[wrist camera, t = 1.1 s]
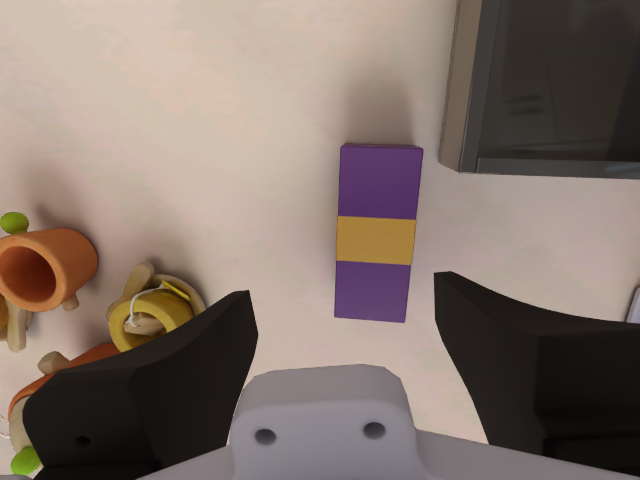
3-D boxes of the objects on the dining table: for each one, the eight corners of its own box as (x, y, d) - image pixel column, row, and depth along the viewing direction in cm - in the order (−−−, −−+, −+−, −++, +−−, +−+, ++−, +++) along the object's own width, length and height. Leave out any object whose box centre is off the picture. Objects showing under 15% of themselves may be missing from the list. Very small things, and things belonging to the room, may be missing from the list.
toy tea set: (237, 300, 27) (172, 388, 18) (164, 429, 32) (84, 550, 23) (-75, 119, 26) (-319, 115, 17) (-101, 283, 31) (-299, 349, 22)
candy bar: (415, 145, 22) (424, 148, 19) (400, 297, 25) (405, 323, 22) (343, 143, 23) (339, 146, 19) (337, 292, 26) (333, 318, 22)
